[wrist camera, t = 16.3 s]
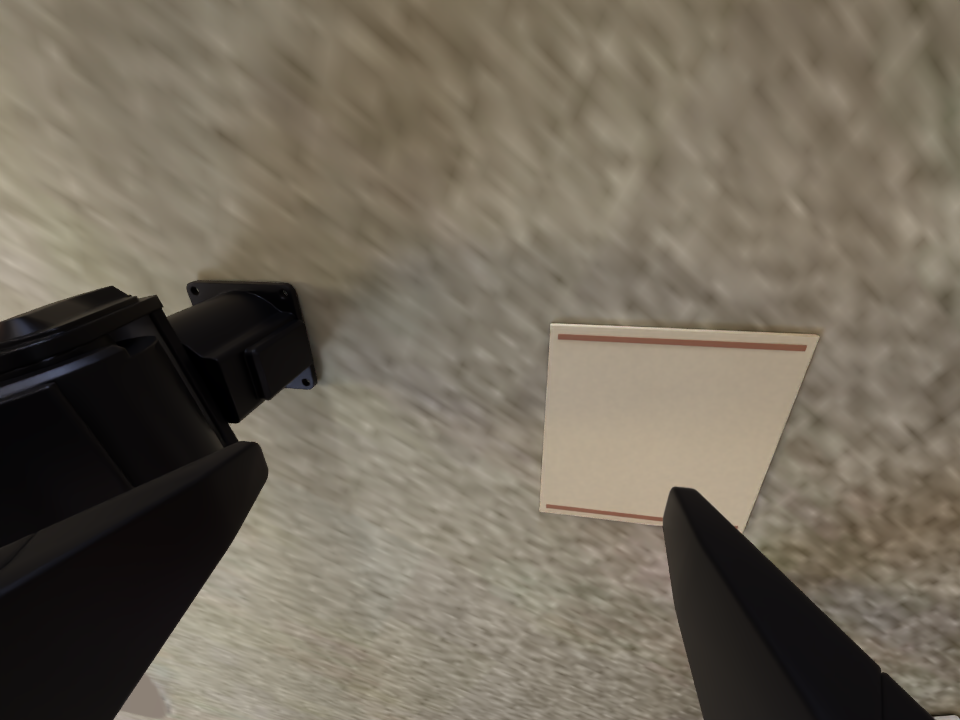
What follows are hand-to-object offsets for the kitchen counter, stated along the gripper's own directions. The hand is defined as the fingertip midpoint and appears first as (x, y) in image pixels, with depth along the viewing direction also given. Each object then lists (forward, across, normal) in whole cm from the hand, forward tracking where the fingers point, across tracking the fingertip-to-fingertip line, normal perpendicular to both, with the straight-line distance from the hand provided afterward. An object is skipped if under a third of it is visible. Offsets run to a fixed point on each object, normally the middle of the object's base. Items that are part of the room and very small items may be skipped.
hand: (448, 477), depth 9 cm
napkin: (+13, -8, +8) cm, 17 cm away
